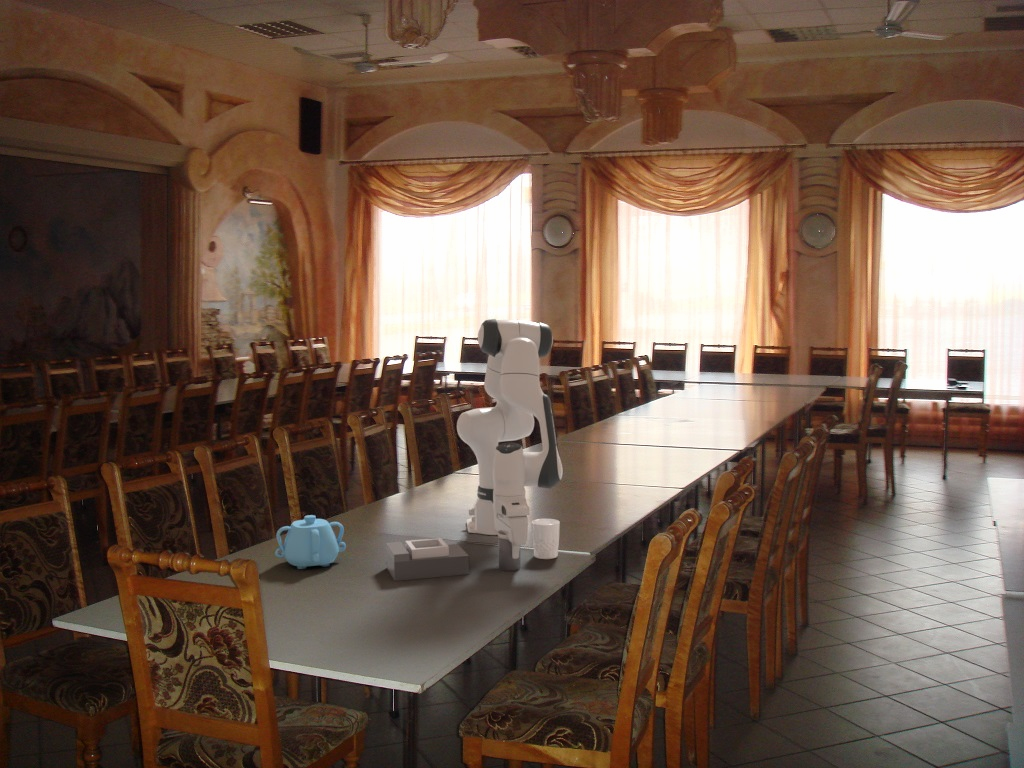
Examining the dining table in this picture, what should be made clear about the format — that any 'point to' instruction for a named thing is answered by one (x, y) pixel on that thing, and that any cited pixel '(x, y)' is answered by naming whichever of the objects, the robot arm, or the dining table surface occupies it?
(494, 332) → the robot arm
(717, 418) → the dining table surface
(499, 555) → the lens
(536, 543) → the white cup
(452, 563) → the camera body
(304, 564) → the decorative pot
